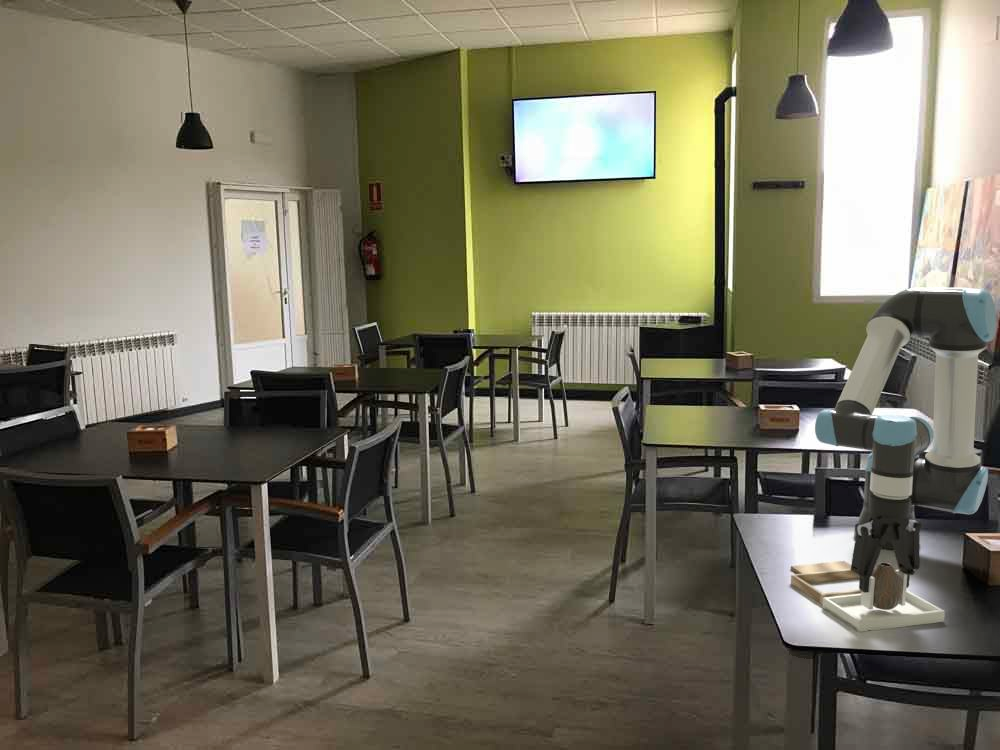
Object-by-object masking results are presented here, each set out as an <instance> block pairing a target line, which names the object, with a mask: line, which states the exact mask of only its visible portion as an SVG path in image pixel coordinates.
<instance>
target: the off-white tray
mask: <svg viewBox="0 0 1000 750" xmlns="http://www.w3.org/2000/svg"><path fill="white" fill-rule="evenodd" d="M822 609H824V610H825V611H826V612H828V613H830V614H831V615H832V616H834V617H835V618H837V619H838V620H839V621H841V622H843V624H846V625H847V626H849V627H851V628H852V629H854V630H855V631H856V630H857V631H856V632H858V633H860V632H861V633H862V632H869V631H868V630H871V631H877V630H887V629H895V628H904V627H910V626H919V625H927V624H934V623H944V622H945V616H946V615H945V614H946V613H945V612H946V611H945V610H944V609H942V608H940V607H939V606H937V605H934V604H933V603H931V602H929V601H927V600H926V599H924V598H922V597H920V596H918V595H916V594H915V593H913V592H912V591H909V590H908V589H906V600H905V605H904V606H901V605H900V604H898V605H897V606H896V607H895V608H893V609H891V610H883V609H878V608H876V607H874V606H873V609H870V610H869V609H868V608H866V607H865V606H863V605H861V594H852V595H843V596H834V597H825V598H823V604H822Z"/></svg>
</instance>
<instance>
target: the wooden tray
mask: <svg viewBox="0 0 1000 750" xmlns="http://www.w3.org/2000/svg"><path fill="white" fill-rule="evenodd" d="M849 579H860V575H858V574H856V573H855V572H853V571H851V569H842V570H833V571H823V572H813V573H803V574H797V573H795V574H791V575H790V584H791V585H792V586H794V587H796V588H797V589H799V590H800V591H802V592H803V593H805V594H806V595H808V596H809V597H811V598H812V599H813V600H815V601H816V602H819V604H821V605H823V598H825V597H834V596H843V595H852V594H861V590H860V589H853V590H852V589H851V590H843V591H835V592H833V591H832V592H826V593H825V592H824V593H823V591H820V590H819V589H818V588H816V587H815V586H813V585H811V584H812V583H820V582H821V583H822V582H830V581H839V580H849Z"/></svg>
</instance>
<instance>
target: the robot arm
mask: <svg viewBox="0 0 1000 750" xmlns="http://www.w3.org/2000/svg"><path fill="white" fill-rule="evenodd" d="M996 328H997V311H996V305H995V302H994V298H993V296H992V294H991V293H990V292H989V291H988V290H987V289H981V288H980V289H979V288H973V287H972V288H971V287H925V286H916V287H910V288H907V289H904V290H901V291H899V292H897V293H896V294H893V295H892V296H891V297H889V298H888V299H887V300H885V301H884V302H883V303H882V304H880V306H878V308H877V309H875V311H874V312H873V314H872V316H870V319H869V320H868V323H867V326H866V329H865V330H866V335H867V336H866V339H865V340H864V342H863V345H862V347H861V349H860V351H859V354H858V356H857V358H856V359H855V360H856V361H855V362H854V365H853V367H852V370H851V371H850V374H849V376H848V378H847V380H846V382H845V385H844V387H843V389H842V392H841V394H840V396H839V398H838V400H837V403H836V405H835V407H834V408H833V409H831V408H829V409H821V411H819V413H818V414H817V416H816V419H815V422H814V433H815V436H816V439H817V441H819V442H820V443H822V444H826V445H830V446H835V447H844V448H852V449H859V450H864V451H865V450H866V451H870V453H869V454H868V456H867V457H866V464H865V468H864V472H865V473H864V474H865V476H864V477H865V478H864V492H863V493H864V494H863V505H862V506H863V507H862V510H861V513H860V514H859V517H858V520H857V523H856V524H855V525H854V533H853V536H854V538H855V539H854V547H853V550H852V551H853V553H852V558H851V571H853V572H855V573H856V574H858V575H860V578H859V582H858V583H859V584H858V590H861V605H863V606H865V607H866V608H868V609H869V610H870V609H873V598H874V584H875V578H874V577H872V576H871V575H872V573H873V570H874V569H875V568H876V565H877V562H878V560H879V557H880V554H881V551H882V549H886V550H893V551H894V555H895V559H896V563H897V567H898V569H894V571H895V572H896V573H897V575H898V576H899V578H900V580H901V582H902V587H903V594H902V598H901V601H900V603H899V604H900V605H901V606H904V605H905V600H906V590H907V588H909V586H910V576H913V575H915V570H916V571H917V570H919V569H920V568H921V567H920V566H921V561H920V559H921V558H920V557H921V556H920V554H921V553H920V545H921V544H920V542H921V535H920V534H921V533H920V532H921V529H922V523H921V522H919V521H917V520H916V516H915V506H918V507H922V508H928V509H933V510H938V511H939V510H940V511H942V512H943V511H944V512H948V513H949V512H950V513H952V514H963V515H973V514H975V513H976V512H977V511H978V509H979V507H980V506H981V504H982V501H983V498H984V495H985V491H986V488H987V485H988V484H987V483H988V479H989V469H988V468H986V467H985V466H981V457H980V456H979V455H978V454H976V453H975V452H974V447H975V446H974V445H975V426H976V423H975V422H976V405H977V403H976V402H977V385H978V383H977V382H978V367H979V366H978V363H979V354H980V353H982V352H983V351H984V350H985V349H986V348H987V343H989V342H992V341H993V340H994V339H995V336H996V331H997V329H996ZM915 337H918V338H928V347H929V349H930V350H931V351H933V352H934V354H935V368H934V369H935V371H934V372H935V373H934V395H933V396H934V399H933V423H932V424H933V428H932V426H931V424H930V423H929V422H928V421H927V420H925V419H923V418H922V417H918V416H907V415H906V416H905V415H898V414H885V415H876V414H873V413H874V411H875V408H876V406H877V404H878V401H879V399H880V398H881V394H882V392H883V390H884V387H885V386H886V383H887V380H888V378H889V376H890V374H891V371H892V369H893V367H894V364H895V361H896V360H897V358H898V355H899V353H900V351H901V348H902V347H904V346H905V345H907V344H908V342H909V341H910V339H911V338H915ZM931 444H932V448H931V449H930V450H929V451H927V449H928V448H929V447H930V446H931ZM925 451H927V452H926V453H925V456H924V458H919V457H920V454H923V453H924V452H925Z"/></svg>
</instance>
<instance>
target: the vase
mask: <svg viewBox="0 0 1000 750" xmlns="http://www.w3.org/2000/svg"><path fill="white" fill-rule="evenodd" d="M871 576H872V577H874V578H875V584H874V598H873V606H874V607H876V608H878V609H883V610H891V609H893V608H895V607H896V606H897V605H898V604H899V603H900V601H901V598H902V594H903V587H902V582H901V580H900V578H899V576H898V575H897V573H896V572H895V568H894V567H893V565H892V564H891V563H889V562H885V561H883V562H882V561H881V562H879V563H878V564H877V566H875V568H874V570H873V573H872V575H871Z"/></svg>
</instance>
